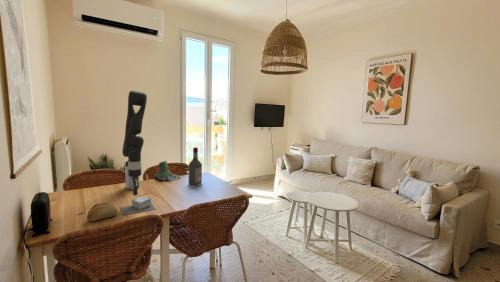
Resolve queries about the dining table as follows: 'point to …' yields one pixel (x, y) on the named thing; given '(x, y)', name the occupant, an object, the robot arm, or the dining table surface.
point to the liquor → (195, 169)
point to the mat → (135, 209)
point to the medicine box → (141, 202)
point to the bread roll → (101, 211)
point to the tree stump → (165, 173)
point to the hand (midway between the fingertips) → (135, 194)
